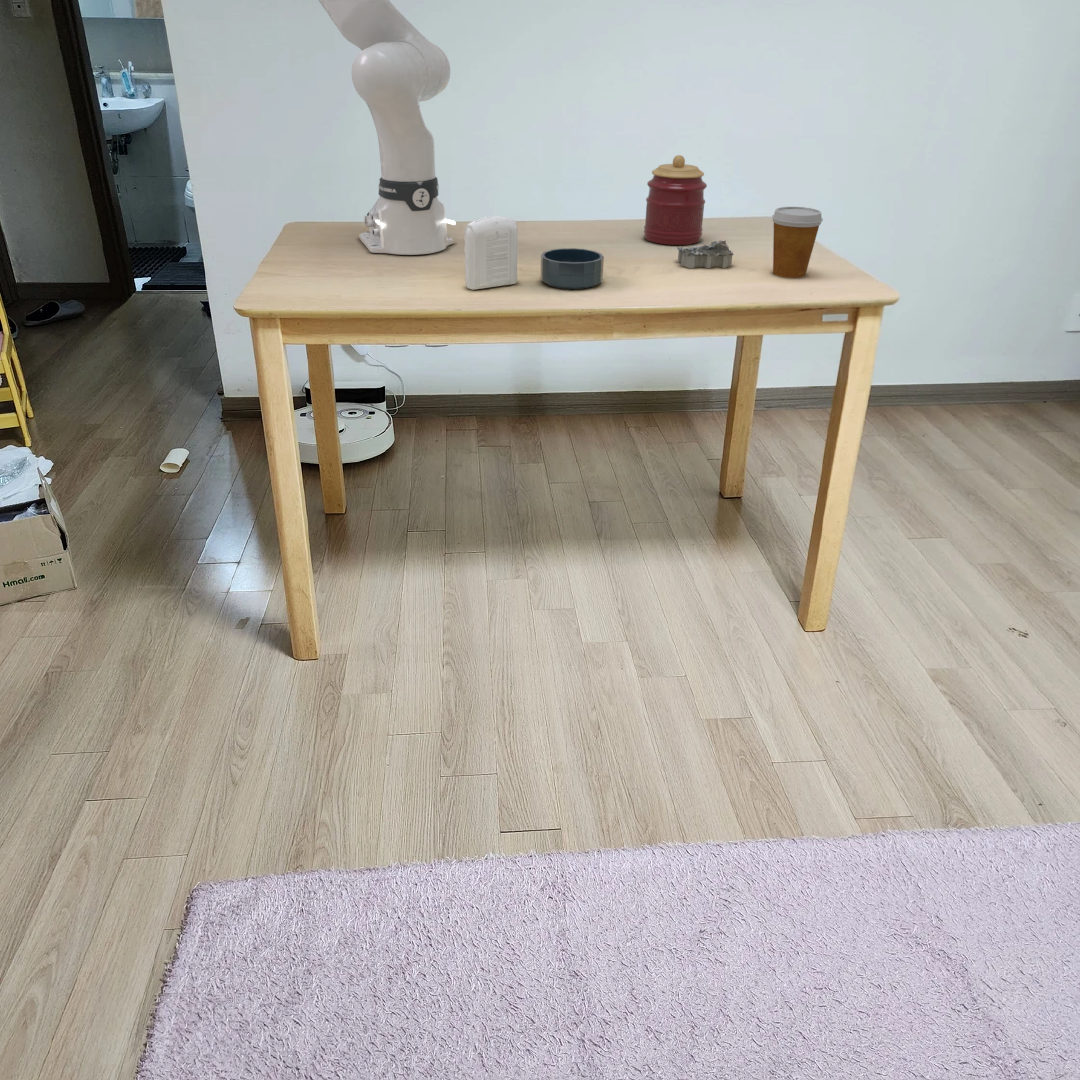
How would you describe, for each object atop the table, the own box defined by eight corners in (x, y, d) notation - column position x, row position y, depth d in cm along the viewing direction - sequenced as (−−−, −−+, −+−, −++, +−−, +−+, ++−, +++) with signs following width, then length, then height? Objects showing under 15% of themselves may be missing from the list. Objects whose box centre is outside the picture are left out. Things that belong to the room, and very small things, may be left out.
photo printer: (508, 279, 179) (508, 212, 173) (520, 284, 176) (521, 216, 170) (461, 286, 174) (459, 217, 168) (473, 292, 171) (471, 222, 165)
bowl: (529, 278, 179) (530, 252, 177) (580, 271, 185) (581, 245, 182) (561, 293, 171) (562, 266, 168) (613, 285, 176) (615, 258, 173)
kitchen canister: (632, 240, 209) (638, 155, 200) (660, 230, 218) (666, 149, 209) (685, 248, 202) (692, 161, 193) (711, 238, 212) (720, 154, 203)
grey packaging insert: (725, 260, 195) (728, 239, 193) (733, 269, 188) (736, 248, 186) (675, 259, 194) (676, 239, 192) (681, 268, 188) (683, 247, 186)
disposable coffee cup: (815, 270, 188) (825, 208, 182) (811, 282, 180) (821, 217, 174) (767, 266, 190) (776, 204, 184) (761, 277, 183) (769, 213, 176)
